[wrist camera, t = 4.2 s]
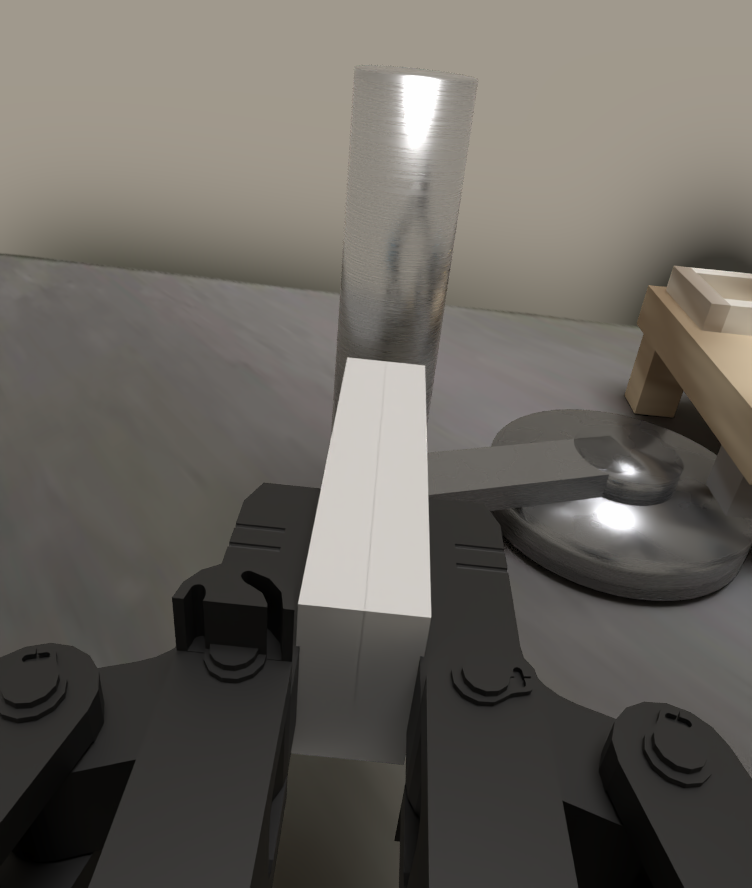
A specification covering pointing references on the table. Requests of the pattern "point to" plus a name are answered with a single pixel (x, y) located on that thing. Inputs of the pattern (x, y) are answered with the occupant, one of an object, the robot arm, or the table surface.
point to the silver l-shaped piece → (533, 436)
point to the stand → (702, 368)
